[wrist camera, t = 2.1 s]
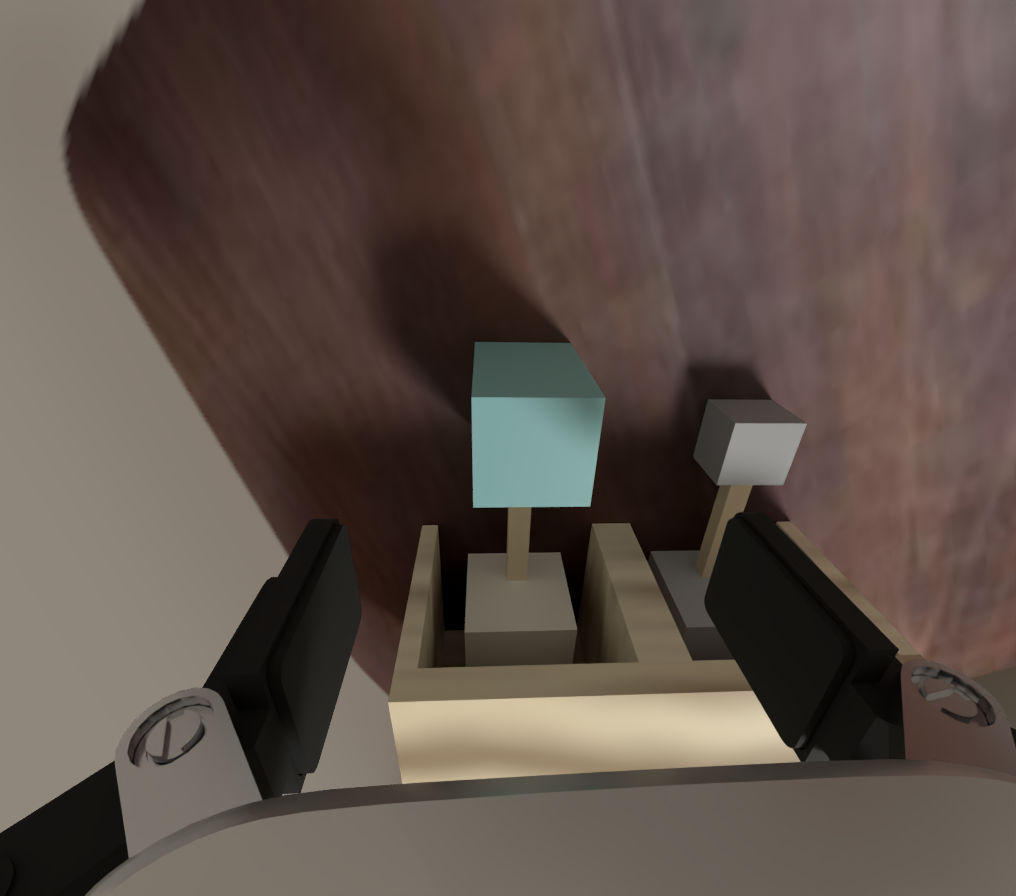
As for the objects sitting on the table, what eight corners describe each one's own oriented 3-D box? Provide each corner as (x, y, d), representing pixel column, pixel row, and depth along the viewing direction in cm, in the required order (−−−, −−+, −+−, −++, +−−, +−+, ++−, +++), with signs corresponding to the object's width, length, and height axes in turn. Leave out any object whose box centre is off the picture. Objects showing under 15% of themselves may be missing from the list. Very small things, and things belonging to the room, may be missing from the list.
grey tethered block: (686, 399, 20) (743, 454, 16) (793, 399, 20) (878, 453, 16) (635, 614, 27) (665, 694, 22) (715, 612, 27) (760, 691, 23)
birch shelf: (422, 525, 23) (387, 702, 15) (791, 521, 24) (949, 684, 16) (432, 642, 27) (410, 828, 19) (743, 634, 28) (848, 807, 20)
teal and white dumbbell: (462, 341, 18) (454, 397, 13) (582, 343, 18) (621, 397, 13) (469, 617, 26) (466, 721, 21) (553, 615, 26) (570, 718, 21)
